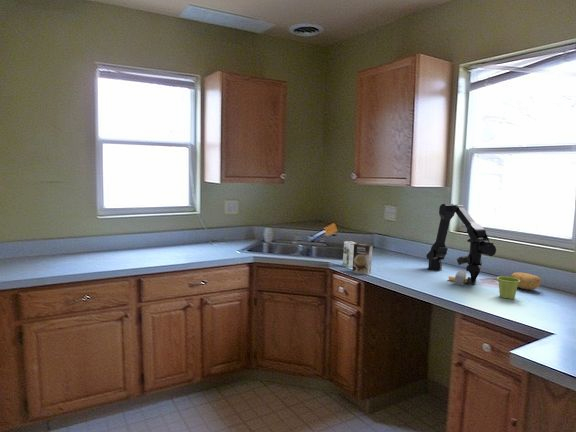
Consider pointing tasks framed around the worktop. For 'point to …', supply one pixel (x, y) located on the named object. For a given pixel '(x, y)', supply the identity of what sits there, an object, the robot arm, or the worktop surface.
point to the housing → (460, 277)
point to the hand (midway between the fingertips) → (473, 281)
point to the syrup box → (348, 253)
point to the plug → (464, 280)
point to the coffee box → (362, 258)
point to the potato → (527, 280)
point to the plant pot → (508, 287)
